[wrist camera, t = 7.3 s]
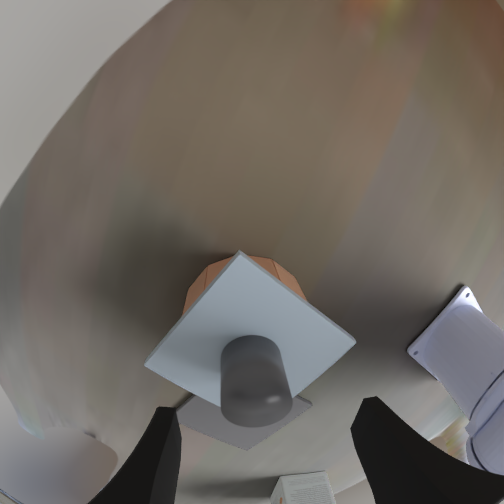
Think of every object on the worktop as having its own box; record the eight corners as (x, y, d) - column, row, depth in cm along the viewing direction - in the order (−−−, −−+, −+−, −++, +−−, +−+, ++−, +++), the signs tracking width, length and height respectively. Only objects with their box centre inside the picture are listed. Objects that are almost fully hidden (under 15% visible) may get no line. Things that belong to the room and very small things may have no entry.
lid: (352, 336, 16) (381, 383, 12) (257, 417, 18) (263, 466, 14) (239, 249, 14) (244, 290, 10) (145, 358, 15) (130, 411, 12)
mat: (311, 402, 24) (312, 405, 23) (246, 447, 26) (246, 450, 25) (231, 359, 21) (231, 363, 21) (169, 415, 23) (169, 418, 23)
